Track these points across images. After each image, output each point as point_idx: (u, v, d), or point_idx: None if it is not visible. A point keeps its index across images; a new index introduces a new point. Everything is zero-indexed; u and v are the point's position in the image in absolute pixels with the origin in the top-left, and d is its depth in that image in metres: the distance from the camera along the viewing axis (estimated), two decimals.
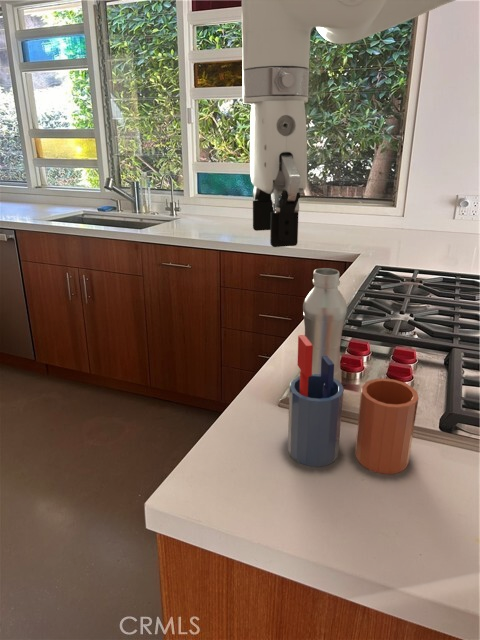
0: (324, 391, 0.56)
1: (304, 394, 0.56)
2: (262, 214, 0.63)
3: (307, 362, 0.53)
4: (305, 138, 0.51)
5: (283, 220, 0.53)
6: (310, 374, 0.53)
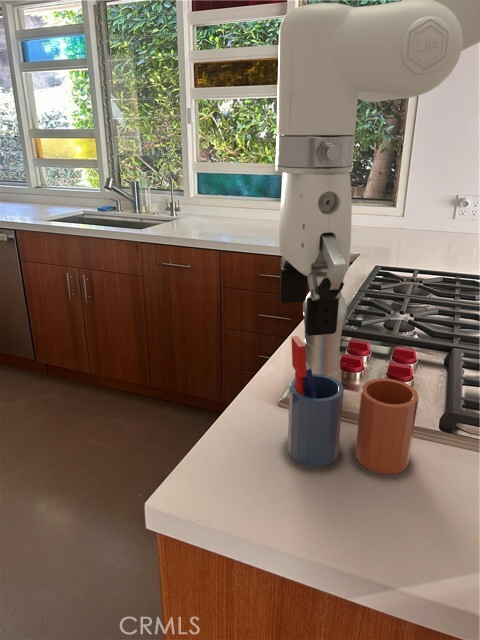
0: (309, 395, 0.56)
1: None
2: (291, 286, 0.55)
3: (301, 363, 0.53)
4: (350, 216, 0.44)
5: (322, 308, 0.46)
6: (305, 375, 0.53)
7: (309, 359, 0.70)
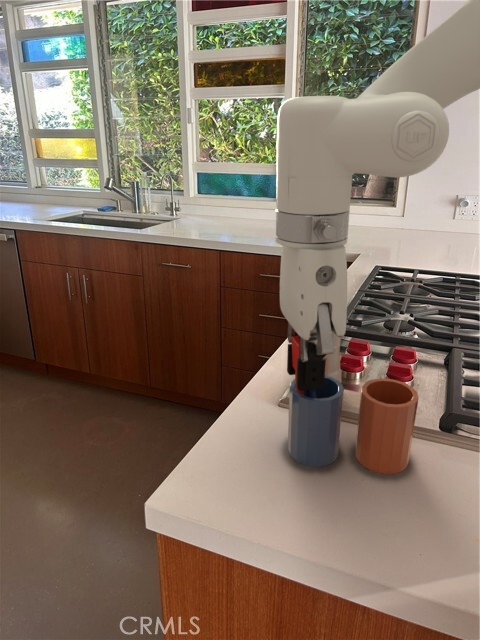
0: (309, 395, 0.56)
1: None
2: None
3: None
4: (346, 286, 0.47)
5: (310, 368, 0.52)
6: None
7: None
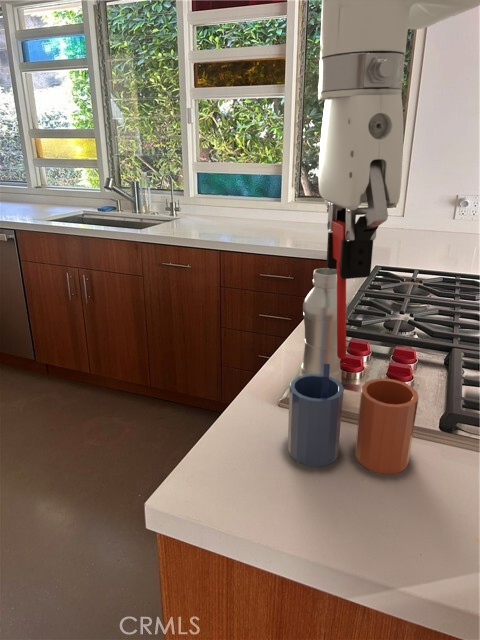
0: None
1: (342, 288, 0.50)
2: None
3: None
4: (402, 141, 0.41)
5: (357, 249, 0.46)
6: None
7: (309, 359, 0.70)
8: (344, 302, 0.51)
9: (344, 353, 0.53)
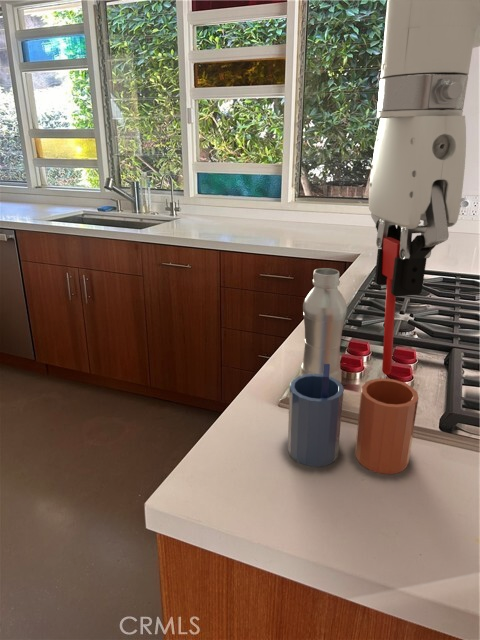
0: None
1: (391, 305, 0.50)
2: None
3: None
4: (464, 162, 0.41)
5: (411, 267, 0.46)
6: None
7: (309, 359, 0.70)
8: (393, 318, 0.51)
9: (390, 369, 0.53)
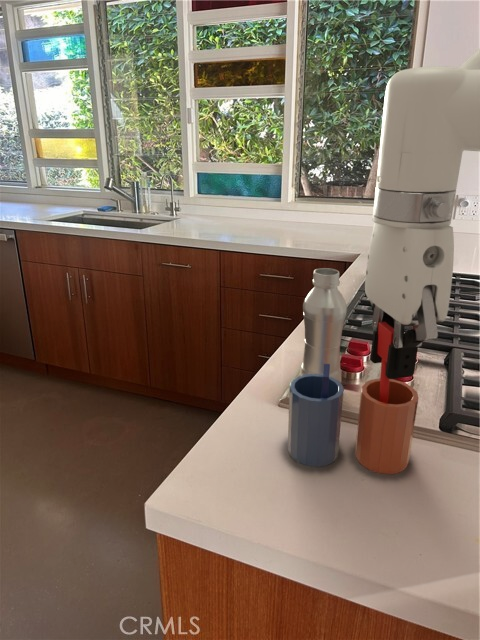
0: None
1: (386, 383, 0.54)
2: None
3: None
4: (452, 268, 0.45)
5: (403, 354, 0.50)
6: None
7: (309, 359, 0.70)
8: (387, 395, 0.54)
9: None
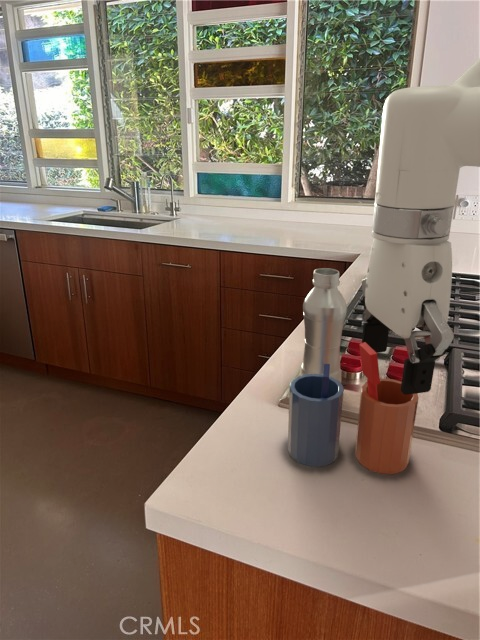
0: None
1: None
2: (373, 337, 0.57)
3: (374, 371, 0.51)
4: (450, 283, 0.45)
5: (420, 370, 0.47)
6: (378, 382, 0.52)
7: (309, 359, 0.70)
8: None
9: None
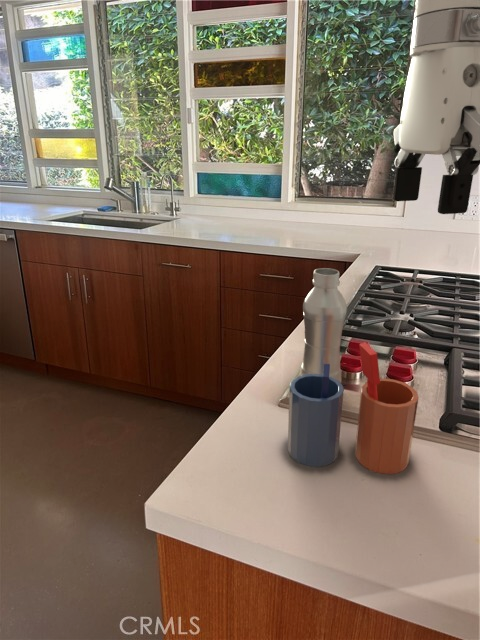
0: None
1: None
2: (406, 183, 0.57)
3: (374, 371, 0.51)
4: None
5: (458, 183, 0.48)
6: (378, 382, 0.52)
7: (309, 359, 0.70)
8: None
9: None
